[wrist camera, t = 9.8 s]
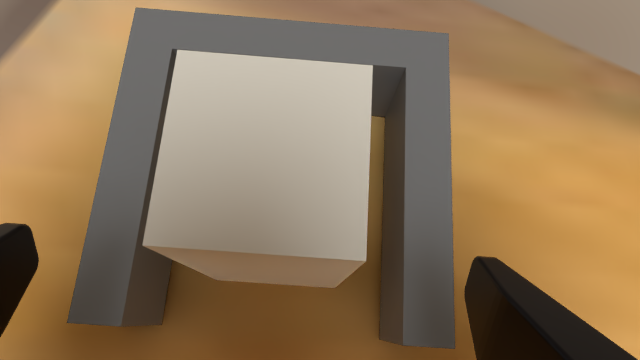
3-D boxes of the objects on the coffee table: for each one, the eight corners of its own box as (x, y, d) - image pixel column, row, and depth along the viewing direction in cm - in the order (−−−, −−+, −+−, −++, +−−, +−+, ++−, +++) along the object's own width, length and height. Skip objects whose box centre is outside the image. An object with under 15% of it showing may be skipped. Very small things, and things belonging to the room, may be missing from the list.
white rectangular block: (334, 288, 17) (366, 261, 9) (216, 280, 17) (142, 245, 9) (340, 175, 19) (372, 65, 11) (230, 167, 19) (177, 49, 10)
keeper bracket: (419, 342, 17) (455, 349, 13) (120, 321, 17) (67, 322, 13) (419, 88, 20) (448, 33, 16) (167, 68, 20) (135, 7, 16)
